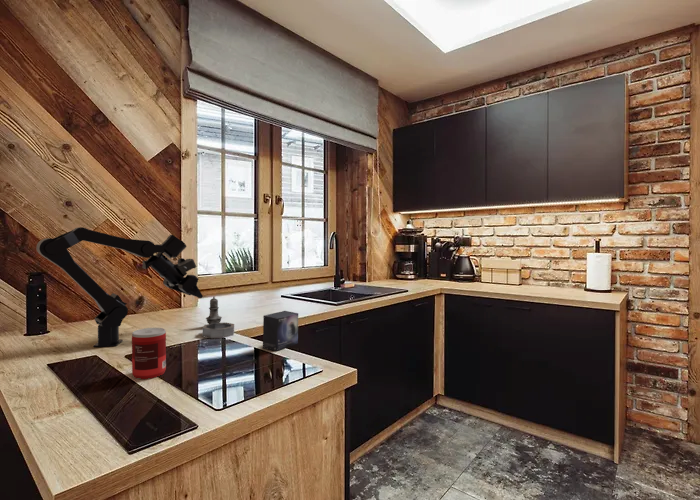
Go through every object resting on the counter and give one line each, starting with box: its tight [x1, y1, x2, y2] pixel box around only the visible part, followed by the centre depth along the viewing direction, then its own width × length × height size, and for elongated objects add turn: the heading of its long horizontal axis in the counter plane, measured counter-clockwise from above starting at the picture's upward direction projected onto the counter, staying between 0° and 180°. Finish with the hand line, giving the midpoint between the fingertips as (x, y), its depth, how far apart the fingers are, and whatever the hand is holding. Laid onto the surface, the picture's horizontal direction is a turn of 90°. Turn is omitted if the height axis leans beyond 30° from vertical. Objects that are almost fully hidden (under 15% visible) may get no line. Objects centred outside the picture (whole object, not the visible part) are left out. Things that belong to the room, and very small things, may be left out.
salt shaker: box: [205, 296, 223, 324], centre depth 148 cm, size 6×6×12 cm
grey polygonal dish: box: [202, 322, 235, 339], centre depth 137 cm, size 10×10×3 cm
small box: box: [262, 310, 299, 352], centre depth 123 cm, size 11×6×10 cm, turn 149°
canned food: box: [131, 327, 167, 380], centre depth 97 cm, size 8×8×11 cm
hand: (196, 295), depth 143 cm, fingers open, 9 cm apart
